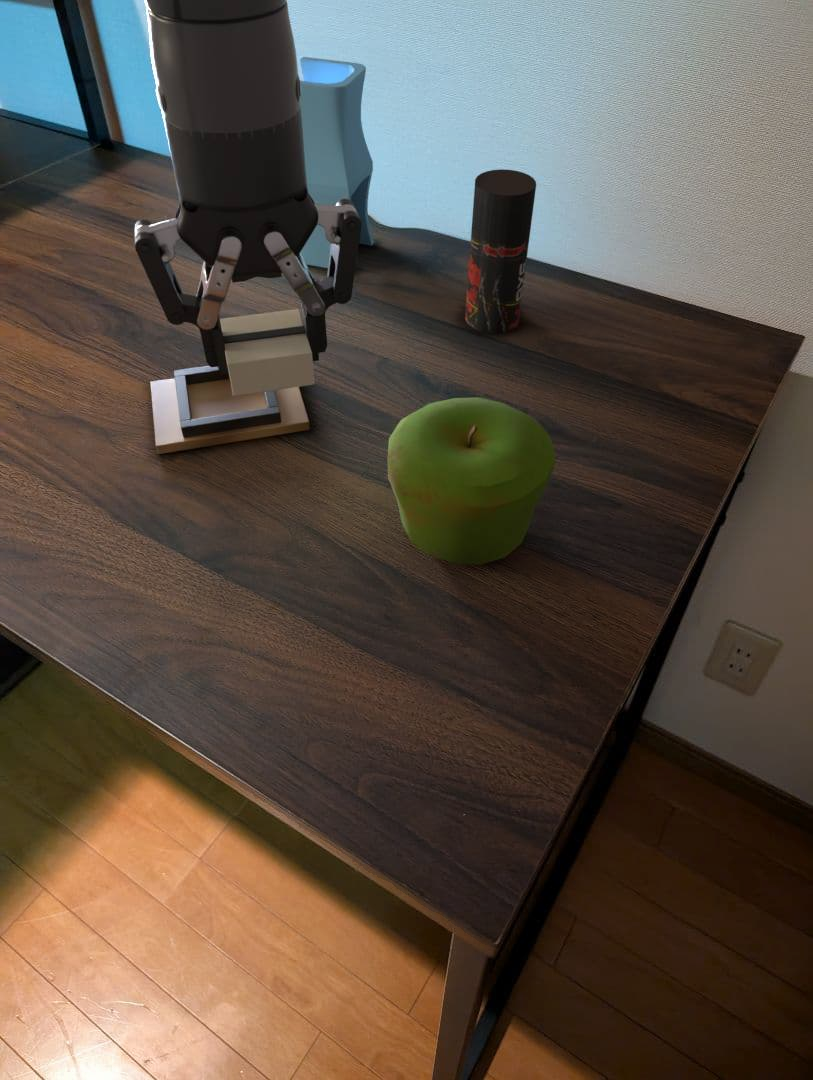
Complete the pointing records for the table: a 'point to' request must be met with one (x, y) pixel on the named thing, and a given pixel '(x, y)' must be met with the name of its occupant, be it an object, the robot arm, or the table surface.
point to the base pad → (219, 411)
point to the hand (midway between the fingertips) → (267, 360)
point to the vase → (334, 145)
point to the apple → (468, 477)
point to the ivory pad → (267, 352)
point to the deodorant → (498, 249)
